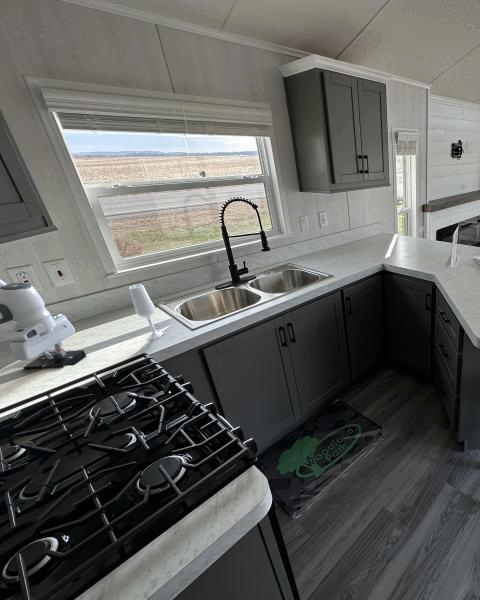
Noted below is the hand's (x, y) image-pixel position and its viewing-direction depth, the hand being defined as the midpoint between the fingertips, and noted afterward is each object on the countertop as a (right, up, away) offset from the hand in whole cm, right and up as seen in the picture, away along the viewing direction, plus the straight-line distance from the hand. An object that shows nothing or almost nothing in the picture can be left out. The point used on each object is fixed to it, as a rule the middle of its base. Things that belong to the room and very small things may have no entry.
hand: (55, 356), depth 126 cm
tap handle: (0, -1, 0) cm, 1 cm away
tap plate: (-1, -4, +2) cm, 4 cm away
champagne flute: (+24, +6, +20) cm, 32 cm away
